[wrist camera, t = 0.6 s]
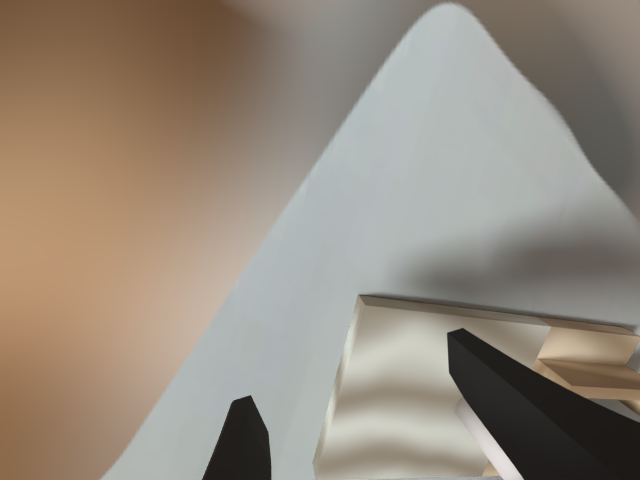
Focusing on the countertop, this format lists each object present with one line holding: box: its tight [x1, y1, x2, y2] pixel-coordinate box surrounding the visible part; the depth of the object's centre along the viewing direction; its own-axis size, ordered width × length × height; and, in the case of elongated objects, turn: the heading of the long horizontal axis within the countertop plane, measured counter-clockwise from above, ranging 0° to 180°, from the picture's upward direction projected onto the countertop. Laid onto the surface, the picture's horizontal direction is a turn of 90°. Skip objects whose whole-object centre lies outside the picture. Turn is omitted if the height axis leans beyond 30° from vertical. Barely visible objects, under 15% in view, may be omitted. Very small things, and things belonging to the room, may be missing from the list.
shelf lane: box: [313, 295, 640, 480], centre depth 24 cm, size 16×26×4 cm, turn 78°
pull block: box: [455, 397, 640, 480], centre depth 23 cm, size 5×14×6 cm, turn 78°
